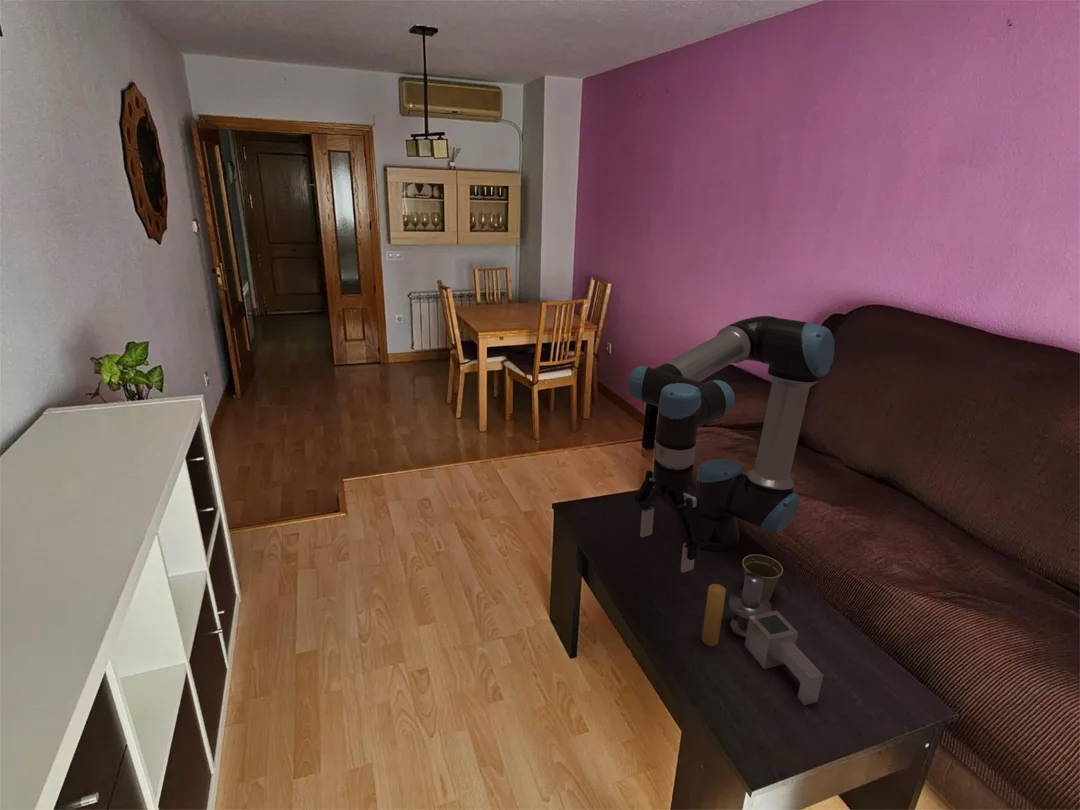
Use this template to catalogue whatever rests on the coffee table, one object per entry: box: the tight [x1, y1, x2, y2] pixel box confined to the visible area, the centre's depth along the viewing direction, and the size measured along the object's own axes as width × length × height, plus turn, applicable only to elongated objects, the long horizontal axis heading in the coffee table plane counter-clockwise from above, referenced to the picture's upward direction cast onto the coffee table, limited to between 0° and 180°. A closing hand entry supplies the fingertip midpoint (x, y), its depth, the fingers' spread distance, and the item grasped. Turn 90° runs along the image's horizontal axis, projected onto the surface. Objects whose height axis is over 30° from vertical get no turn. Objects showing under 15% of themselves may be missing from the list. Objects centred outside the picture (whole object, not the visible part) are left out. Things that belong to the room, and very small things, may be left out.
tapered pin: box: [701, 583, 727, 647], centre depth 129 cm, size 4×4×14 cm
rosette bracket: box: [728, 572, 824, 706], centre depth 124 cm, size 26×9×14 cm, turn 16°
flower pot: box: [741, 553, 784, 601], centre depth 144 cm, size 9×9×9 cm
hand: (665, 551), depth 123 cm, fingers open, 13 cm apart
